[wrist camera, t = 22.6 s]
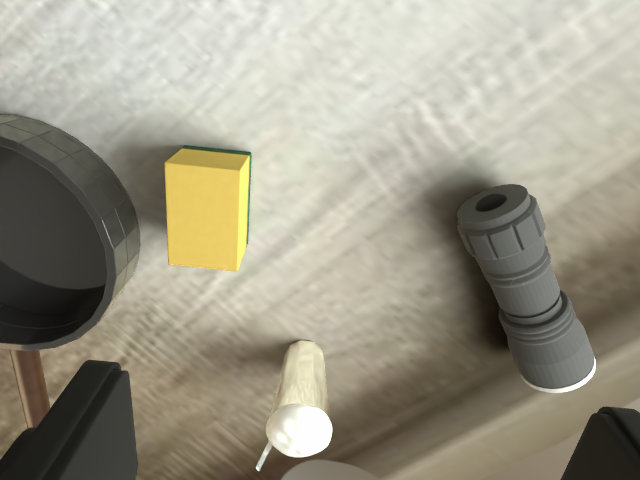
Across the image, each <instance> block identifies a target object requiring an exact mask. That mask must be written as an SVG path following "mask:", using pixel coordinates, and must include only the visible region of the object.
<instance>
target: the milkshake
mask: <svg viewBox="0 0 640 480" xmlns="http://www.w3.org/2000/svg"><path fill="white" fill-rule="evenodd" d="M266 434H267V437H268V439H269V442H268V444H267V446H266V448H265V450H264V452H263V454H262V456H261V458H260V459H259V461H258V463H257V465H256V469H257V470H258V471H260V469H261V467H262V465H263V463H264V461H265V459H266V457H267V455H268V453H269V451H270V449H271V447H272V445H273V446H274V447H275V448H276V449H278V450H279V451H280V452H282V453H283V454H285V455H287V456H292V457H306V456H310V455H313V454H315V453H318V452H320V451H322V450H323V449H325V448H326V447H327V446H328V444H329V442H330V440H331V435H332V423H331V416H330V409H329V402H328V396H327V385H326V375H325V364H324V357H323V352H322V348H320V347H319V346H318V345H317V344H315V343H314V342H312V341H304V340H300V341H298V342H296V343H293V344H291V345H290V346H289V348H288V350H287V352H286V353H285V357H284V361H283V365H282V369H281V373H280V377H279V381H278V385H277V390H276V394H275V398H274V401H273V405H272V408H271V412H270V415H269V419H268V422H267V425H266Z"/></svg>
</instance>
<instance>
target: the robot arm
mask: <svg viewBox="0 0 640 480" xmlns="http://www.w3.org/2000/svg"><path fill="white" fill-rule="evenodd" d="M137 468H138V461H137V451H136V441H135V430H134V420H133V410H132V399H131V389H130V379H129V373H128V371H121V367H120V364H119V363H117V362H107V361H96V360H88V361H86V362H85V363H84V364H83V365H82V366H81V367H80V369H79V370H78V372H77V373H76V374H75V376H74V377H73V378H72V380H71V381H70V382H69V384H68V385H67V387H66V388H65V389H64V391H63V392H62V393H61V395H60V396H59V398H58V399H57V400H56V402H55V403H54V404H53V406H52V407H51V408H50V410H49V411H48V413H47V414H46V415H45V417H44V418H43V419H42V421H41V422H40V424H39V425H38V426H37V427H30V428H28V429H27V430H25V431H23V432H22V433H21V435H20V436H19V437H18V438H17V439H16V440H15V441H14V443H13V444H12V445H11V447H10V448H9V449H8V451H7V452H6V453H5V455H4V456H3V457H2V459H1V460H0V480H135V479H136V475H137ZM561 480H640V413H639V412H638V411H636V410H634V409H627V408H615V407H602V408H600V409H599V411H598V412H597V413H594V414H593V415H591V417H590V419H589V421H588V423H587V425H586V427H585V429H584V431H583V433H582V436H581V438H580V440H579V442H578V444H577V446H576V449H575V451H574V453H573V455H572V457H571V459H570V461H569V463H568V465H567V468H566V470H565V472H564V474H563V476H562V478H561Z"/></svg>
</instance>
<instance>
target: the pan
mask: <svg viewBox="0 0 640 480" xmlns="http://www.w3.org/2000/svg"><path fill="white" fill-rule="evenodd" d="M139 252H140V232H139V225H138V220H137V217H136V213H135V210H134V207H133V205H132V203H131V200H130V198H129V196H128V194H127V192H126V190H125V189H124V187H123V185H122V183H121V182H120V181H119V179H118V178H117V177H116V175H115V174H114V172H113V171H112V170H111V169H110V168H109V167H108V166H107V164H106V163H105V162H104V161H103V160H102V159H101V158H100V157H99V156H98V155H97V154H95V153H94V152H93V151H92V150H91V149H90V148H89V147H87V146H86V145H84V144H83V143H82V142H80V141H79V140H77V139H76V138H75V137H73V136H71V135H69V134H67V133H66V132H64V131H62V130H60V129H58V128H56V127H53V126H51V125H49V124H46V123H44V122H41V121H38V120H34V119H31V118H27V117H22V116H16V115H6V114H0V349H10V350H21V351H33V350H41V349H48V348H55V347H58V346H61V345H63V344H66V343H68V342H71V341H73V340H76V339H78V338H80V337H81V336H83V335H84V334H85V333H86V332H88V331H89V330H90V329H91V328H93V327H94V326H95V325H96V324H98V323H99V321H100V320H101V319H102V318H103V316H104V315H105V314H106V312H107V311H108V310H109V309H110V307H111V306H112V305H113V303H114V302H115V301H116V300H117V298H118V297H119V296H120V295H121V293H122V291H123V290H124V288H125V287H126V285H127V284H128V283H129V281H130V279H131V277H132V275H133V274H134V272H135V269H136V266H137V263H138V259H139Z"/></svg>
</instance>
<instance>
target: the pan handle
mask: <svg viewBox="0 0 640 480" xmlns="http://www.w3.org/2000/svg"><path fill="white" fill-rule="evenodd" d="M10 354H11V358H12V362H13V367H14V371H15V375H16V380H17V384H18V388H19V393H20V397H21V401H22V406H23V410H24V414H25V419H26V423H27V427H28V428H30V427H37V426H38V425H39V424H40V422H41V421H42V419H43V418H44V417H45V415H46V414H47V413H48V411H49V410H50V404H49V399H48V394H47V389H46V383H45V378H44V373H43V368H42V363H41V358H40V353H39V350H33V351H21V350H10Z"/></svg>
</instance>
